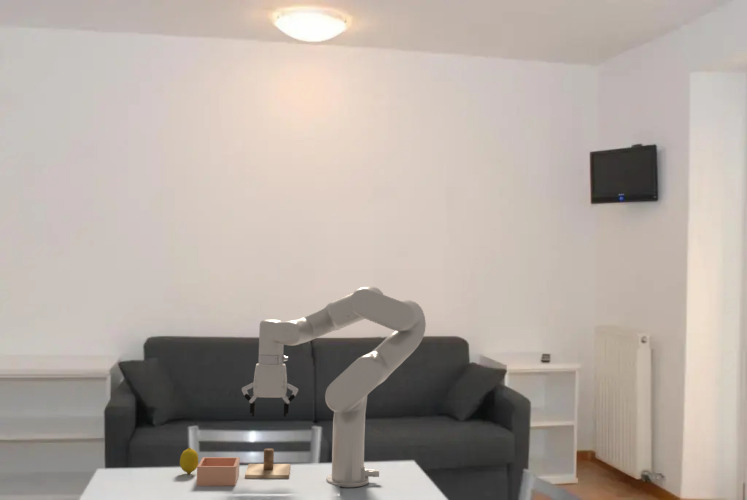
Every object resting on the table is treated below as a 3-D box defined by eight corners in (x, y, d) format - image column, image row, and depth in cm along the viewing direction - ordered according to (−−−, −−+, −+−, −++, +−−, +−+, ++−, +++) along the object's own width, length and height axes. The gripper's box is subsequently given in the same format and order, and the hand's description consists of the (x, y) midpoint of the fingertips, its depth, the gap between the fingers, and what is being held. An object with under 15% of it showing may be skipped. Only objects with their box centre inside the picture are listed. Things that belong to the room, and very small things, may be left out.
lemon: (193, 477, 239) (194, 450, 239) (176, 475, 240) (177, 449, 240) (201, 472, 244) (201, 446, 244) (184, 471, 245) (185, 445, 245)
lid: (290, 467, 251) (290, 444, 251) (288, 478, 238) (289, 454, 238) (248, 466, 250) (249, 444, 250) (244, 478, 237) (245, 454, 237)
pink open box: (239, 477, 240) (239, 457, 240) (235, 487, 229) (235, 466, 229) (202, 477, 239) (202, 457, 239) (196, 487, 228) (197, 466, 228)
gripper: (299, 358, 249) (297, 413, 248) (243, 357, 247) (242, 413, 247) (298, 362, 241) (297, 418, 241) (241, 361, 240) (239, 417, 240)
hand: (269, 415), depth 244 cm, fingers open, 9 cm apart
